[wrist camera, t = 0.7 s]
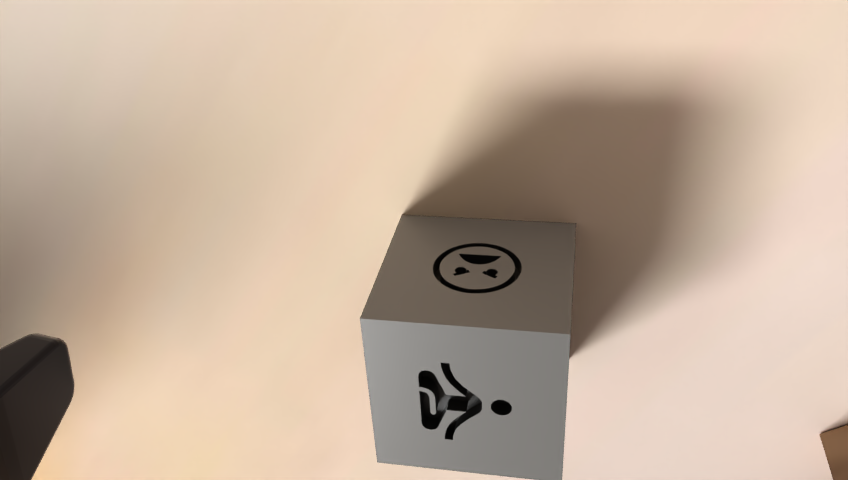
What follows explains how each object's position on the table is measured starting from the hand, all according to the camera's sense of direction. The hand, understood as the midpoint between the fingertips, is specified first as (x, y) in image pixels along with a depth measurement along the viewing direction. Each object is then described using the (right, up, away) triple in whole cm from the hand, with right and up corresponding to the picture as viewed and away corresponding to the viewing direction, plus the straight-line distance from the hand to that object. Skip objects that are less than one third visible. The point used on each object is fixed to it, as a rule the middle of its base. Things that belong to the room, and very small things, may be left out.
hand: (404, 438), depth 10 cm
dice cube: (+2, +1, +14) cm, 15 cm away
